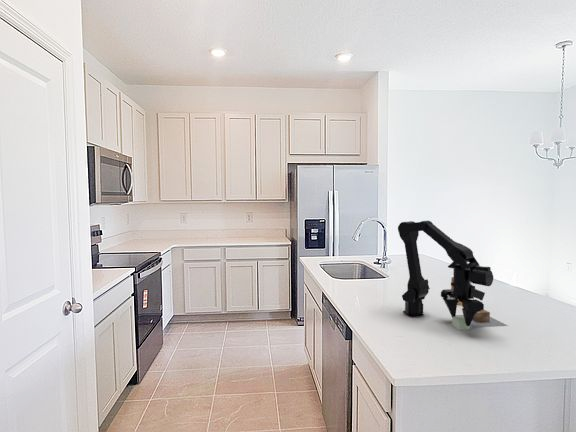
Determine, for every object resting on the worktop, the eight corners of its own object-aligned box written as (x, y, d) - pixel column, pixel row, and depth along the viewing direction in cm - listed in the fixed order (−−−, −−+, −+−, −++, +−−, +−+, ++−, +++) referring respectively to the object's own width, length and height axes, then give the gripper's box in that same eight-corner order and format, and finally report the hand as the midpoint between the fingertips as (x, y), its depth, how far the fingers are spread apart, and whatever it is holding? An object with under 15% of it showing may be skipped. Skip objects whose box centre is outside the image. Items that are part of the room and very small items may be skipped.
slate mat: (474, 328, 140) (474, 327, 140) (453, 316, 154) (453, 315, 154) (508, 326, 142) (508, 325, 142) (484, 314, 156) (484, 313, 156)
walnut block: (477, 322, 145) (478, 312, 145) (469, 318, 150) (470, 308, 150) (489, 322, 146) (489, 312, 145) (481, 317, 150) (481, 308, 150)
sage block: (458, 331, 138) (458, 320, 137) (451, 327, 142) (451, 316, 142) (469, 330, 138) (470, 320, 138) (462, 326, 143) (462, 316, 142)
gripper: (498, 286, 131) (497, 329, 132) (466, 274, 149) (465, 312, 150) (469, 287, 129) (468, 331, 130) (440, 275, 148) (439, 314, 149)
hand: (460, 321), depth 140 cm, fingers open, 9 cm apart
